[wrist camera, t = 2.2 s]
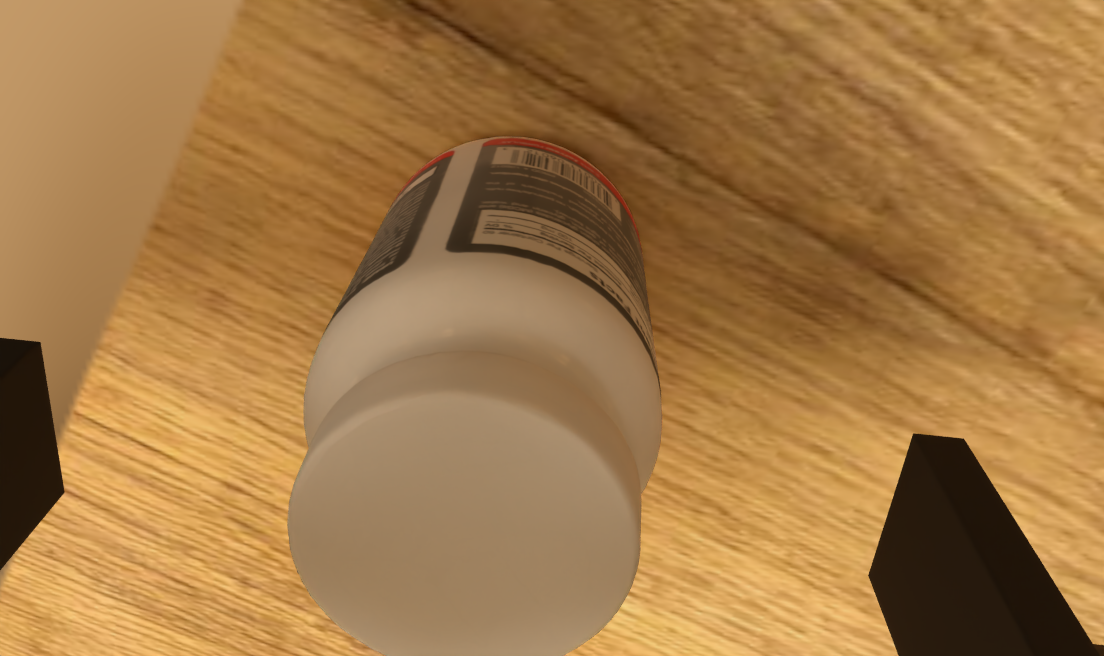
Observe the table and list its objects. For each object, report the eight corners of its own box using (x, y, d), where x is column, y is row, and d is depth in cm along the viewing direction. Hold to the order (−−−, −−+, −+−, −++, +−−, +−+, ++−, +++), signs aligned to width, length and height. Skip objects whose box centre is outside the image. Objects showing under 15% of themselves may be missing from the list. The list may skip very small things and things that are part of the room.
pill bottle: (447, 394, 23) (355, 740, 14) (341, 181, 21) (153, 437, 12) (676, 323, 22) (730, 650, 13) (592, 89, 20) (590, 296, 11)
